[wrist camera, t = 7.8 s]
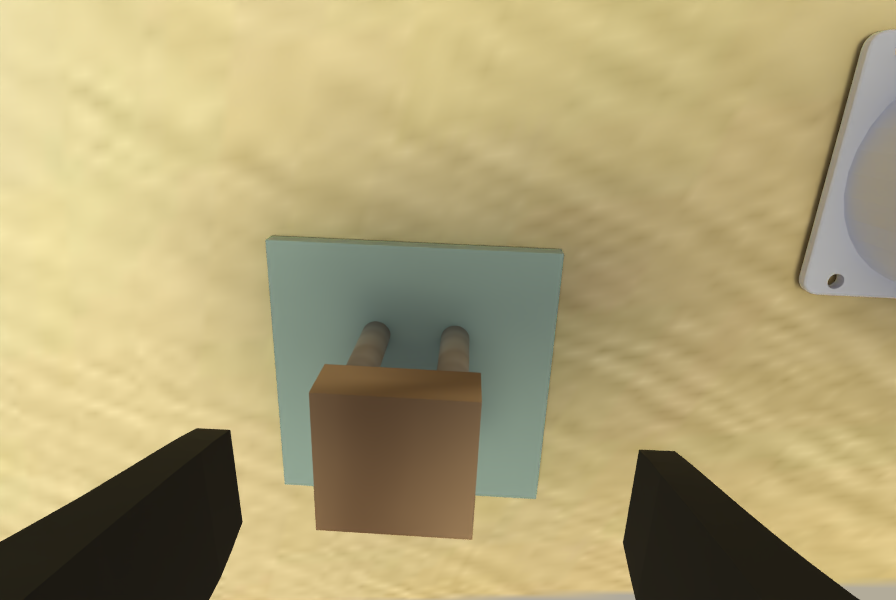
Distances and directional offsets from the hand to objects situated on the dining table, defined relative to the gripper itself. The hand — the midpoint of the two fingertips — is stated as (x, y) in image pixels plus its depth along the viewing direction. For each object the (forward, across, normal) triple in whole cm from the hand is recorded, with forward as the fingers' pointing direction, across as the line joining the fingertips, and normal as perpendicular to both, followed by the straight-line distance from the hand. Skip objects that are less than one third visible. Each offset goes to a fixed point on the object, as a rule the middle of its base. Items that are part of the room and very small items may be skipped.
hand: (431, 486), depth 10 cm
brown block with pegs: (+10, +1, +3) cm, 10 cm away
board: (+10, +1, +3) cm, 11 cm away
